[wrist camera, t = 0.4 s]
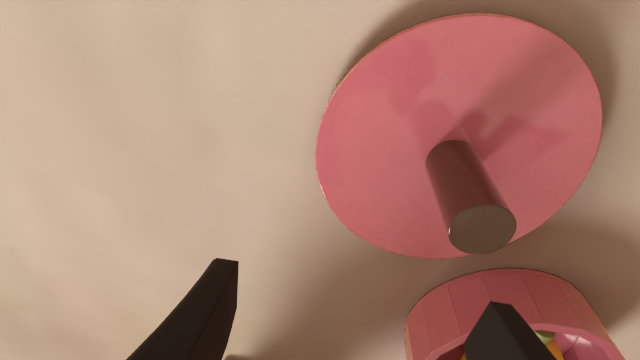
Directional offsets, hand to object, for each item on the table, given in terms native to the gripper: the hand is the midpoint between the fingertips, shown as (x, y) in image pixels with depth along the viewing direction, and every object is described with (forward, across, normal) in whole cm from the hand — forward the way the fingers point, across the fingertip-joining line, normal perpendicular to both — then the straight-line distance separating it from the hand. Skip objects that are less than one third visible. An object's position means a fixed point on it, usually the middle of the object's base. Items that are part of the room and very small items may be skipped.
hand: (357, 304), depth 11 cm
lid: (+9, -5, -1) cm, 10 cm away
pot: (+10, -12, +12) cm, 20 cm away
